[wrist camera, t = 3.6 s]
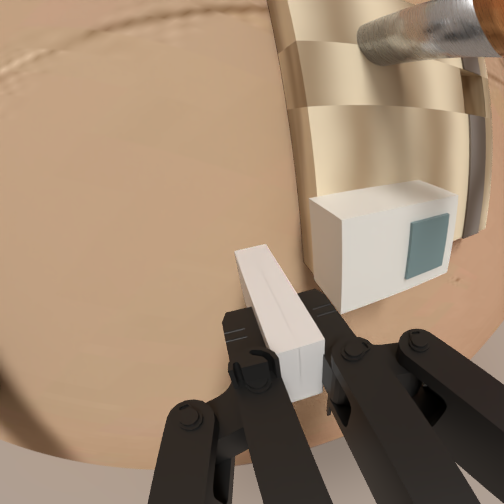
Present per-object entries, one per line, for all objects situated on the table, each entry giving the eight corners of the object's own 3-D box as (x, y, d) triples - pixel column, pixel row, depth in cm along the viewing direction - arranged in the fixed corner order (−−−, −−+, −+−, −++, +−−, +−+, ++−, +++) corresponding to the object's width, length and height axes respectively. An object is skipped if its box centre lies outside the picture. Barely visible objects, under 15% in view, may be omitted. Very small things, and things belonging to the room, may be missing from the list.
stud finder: (314, 279, 16) (342, 316, 13) (308, 198, 14) (344, 221, 11) (413, 249, 17) (448, 273, 14) (418, 179, 15) (461, 195, 12)
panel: (303, 262, 19) (323, 285, 16) (266, -3, 11) (282, -25, 8) (463, 217, 21) (486, 229, 19) (455, 37, 13) (481, 35, 10)
